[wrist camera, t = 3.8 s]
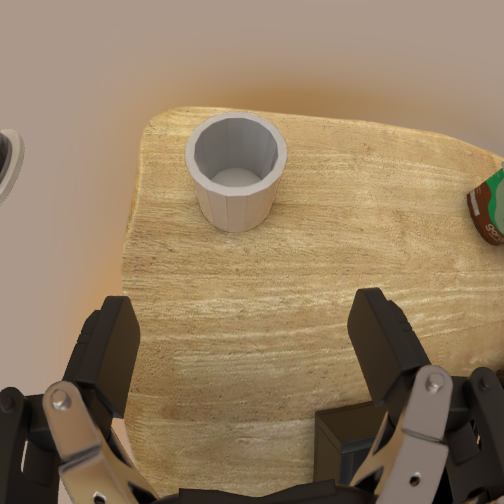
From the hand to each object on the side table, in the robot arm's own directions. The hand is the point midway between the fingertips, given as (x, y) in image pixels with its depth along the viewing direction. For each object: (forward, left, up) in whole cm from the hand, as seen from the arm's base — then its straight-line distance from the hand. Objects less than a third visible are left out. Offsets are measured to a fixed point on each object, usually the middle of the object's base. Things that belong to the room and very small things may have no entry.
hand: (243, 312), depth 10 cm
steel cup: (0, +10, -14) cm, 17 cm away
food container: (+31, +7, -14) cm, 35 cm away
